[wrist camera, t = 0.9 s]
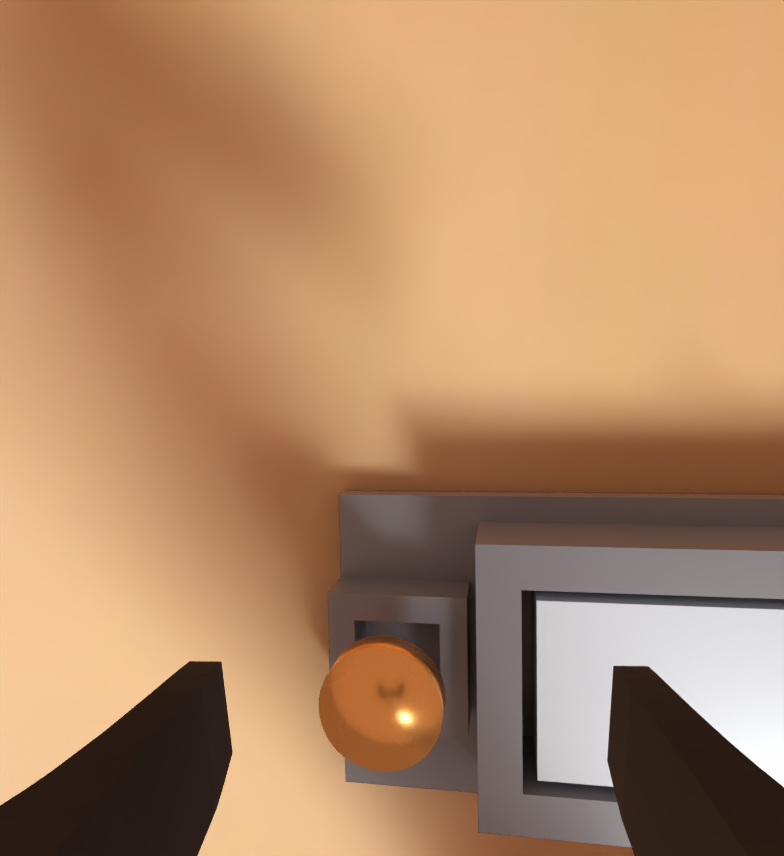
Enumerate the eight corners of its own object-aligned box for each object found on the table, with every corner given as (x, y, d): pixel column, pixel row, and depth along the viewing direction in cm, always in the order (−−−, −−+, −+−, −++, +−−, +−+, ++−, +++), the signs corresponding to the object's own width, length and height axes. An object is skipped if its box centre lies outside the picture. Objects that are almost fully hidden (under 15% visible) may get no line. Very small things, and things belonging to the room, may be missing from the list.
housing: (963, 818, 24) (1075, 923, 19) (351, 767, 28) (321, 844, 23) (975, 496, 23) (1095, 523, 18) (344, 490, 27) (312, 512, 22)
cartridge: (909, 757, 23) (1094, 924, 16) (533, 730, 25) (545, 867, 18) (915, 584, 22) (1106, 676, 15) (532, 573, 25) (544, 648, 17)
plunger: (451, 724, 23) (443, 776, 20) (344, 717, 24) (320, 766, 21) (449, 616, 23) (441, 652, 20) (341, 612, 24) (317, 646, 21)
